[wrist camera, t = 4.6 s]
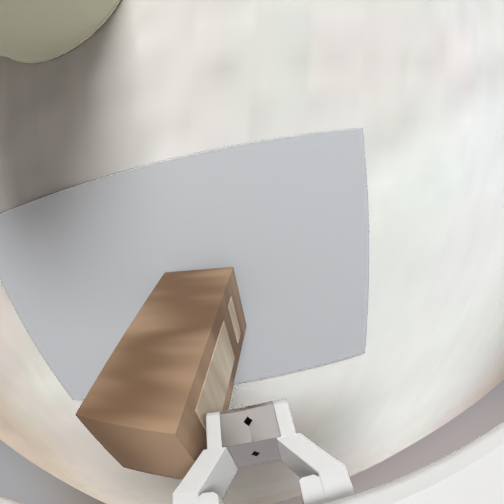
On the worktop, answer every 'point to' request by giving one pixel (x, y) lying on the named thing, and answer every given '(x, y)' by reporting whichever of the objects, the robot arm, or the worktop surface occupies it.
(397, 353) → the worktop surface
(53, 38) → the can
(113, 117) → the worktop surface
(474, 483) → the robot arm
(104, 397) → the brown box
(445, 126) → the worktop surface
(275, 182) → the grey mat
